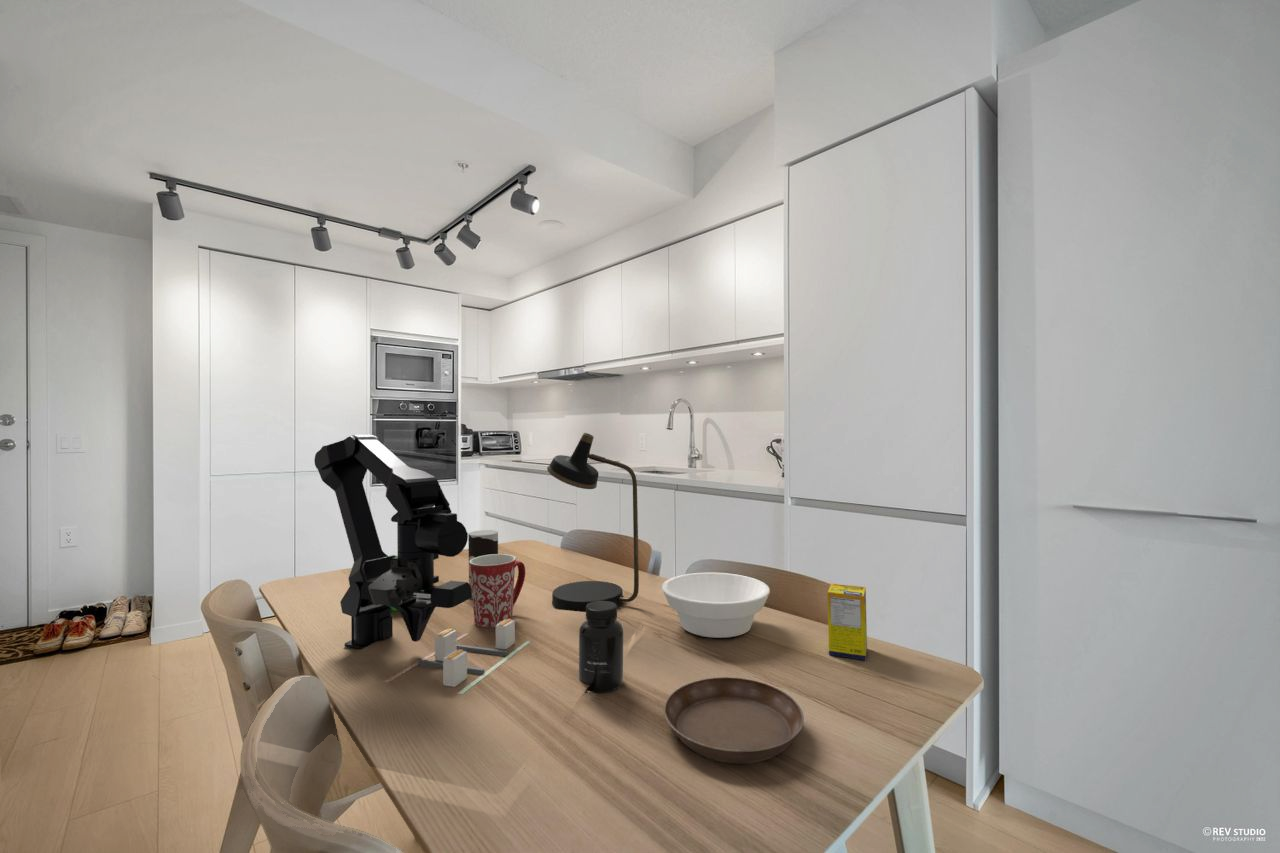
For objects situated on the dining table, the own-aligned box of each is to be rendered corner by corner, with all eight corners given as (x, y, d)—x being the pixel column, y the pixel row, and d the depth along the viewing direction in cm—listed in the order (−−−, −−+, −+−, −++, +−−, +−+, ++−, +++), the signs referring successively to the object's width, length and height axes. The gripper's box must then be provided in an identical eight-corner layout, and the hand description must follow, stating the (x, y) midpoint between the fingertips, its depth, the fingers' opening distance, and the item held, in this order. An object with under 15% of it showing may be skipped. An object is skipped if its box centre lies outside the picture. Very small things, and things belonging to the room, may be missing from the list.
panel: (379, 692, 80) (378, 680, 80) (468, 637, 101) (468, 627, 101) (458, 705, 76) (458, 693, 76) (534, 645, 97) (534, 635, 97)
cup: (465, 595, 127) (464, 532, 127) (492, 590, 131) (492, 529, 131) (474, 602, 122) (473, 536, 122) (502, 596, 126) (502, 533, 126)
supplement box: (867, 648, 94) (866, 586, 94) (866, 661, 89) (865, 595, 89) (831, 642, 97) (830, 582, 97) (828, 655, 91) (827, 591, 91)
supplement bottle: (588, 698, 77) (588, 615, 77) (572, 679, 83) (571, 602, 83) (631, 687, 80) (630, 608, 81) (612, 669, 87) (611, 595, 87)
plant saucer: (708, 792, 57) (707, 764, 57) (642, 713, 74) (642, 691, 74) (835, 752, 64) (835, 726, 64) (750, 688, 81) (749, 667, 81)
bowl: (646, 640, 99) (645, 595, 99) (680, 605, 118) (680, 568, 119) (760, 657, 91) (760, 609, 91) (777, 617, 111) (777, 577, 111)
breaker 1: (443, 685, 79) (443, 656, 79) (455, 676, 82) (455, 648, 82) (454, 686, 79) (454, 658, 79) (467, 677, 82) (466, 650, 82)
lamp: (568, 587, 132) (567, 432, 133) (651, 596, 125) (649, 432, 125) (533, 607, 117) (532, 433, 118) (624, 619, 110) (623, 432, 110)
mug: (489, 638, 100) (488, 567, 100) (460, 628, 105) (459, 560, 106) (539, 619, 110) (538, 554, 110) (510, 611, 116) (510, 548, 116)
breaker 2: (495, 648, 93) (495, 624, 93) (505, 641, 96) (504, 618, 96) (505, 649, 92) (505, 625, 92) (514, 642, 95) (514, 619, 95)
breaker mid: (434, 660, 88) (434, 634, 88) (446, 652, 91) (446, 628, 91) (445, 661, 88) (445, 635, 88) (456, 654, 90) (456, 629, 90)
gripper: (333, 556, 86) (333, 653, 86) (429, 564, 81) (430, 667, 81) (385, 542, 97) (385, 628, 97) (473, 548, 91) (474, 639, 91)
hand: (416, 640), depth 91 cm, fingers closed
